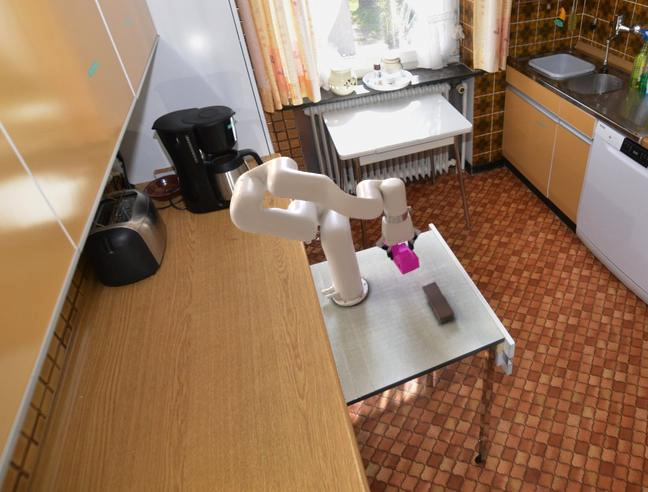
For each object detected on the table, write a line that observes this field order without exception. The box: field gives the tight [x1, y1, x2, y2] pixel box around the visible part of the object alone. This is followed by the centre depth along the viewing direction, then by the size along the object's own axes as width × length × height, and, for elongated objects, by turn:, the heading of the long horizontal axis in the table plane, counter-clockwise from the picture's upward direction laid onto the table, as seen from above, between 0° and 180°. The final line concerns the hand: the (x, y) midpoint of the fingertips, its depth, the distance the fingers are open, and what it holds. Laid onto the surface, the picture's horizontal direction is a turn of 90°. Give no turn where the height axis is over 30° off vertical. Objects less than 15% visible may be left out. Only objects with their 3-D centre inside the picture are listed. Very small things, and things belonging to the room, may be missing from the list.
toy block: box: [382, 241, 420, 276], centre depth 150 cm, size 15×6×8 cm, turn 30°
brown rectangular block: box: [421, 281, 455, 324], centre depth 147 cm, size 15×5×3 cm, turn 23°
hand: (400, 254), depth 151 cm, fingers closed on toy block, 6 cm apart
